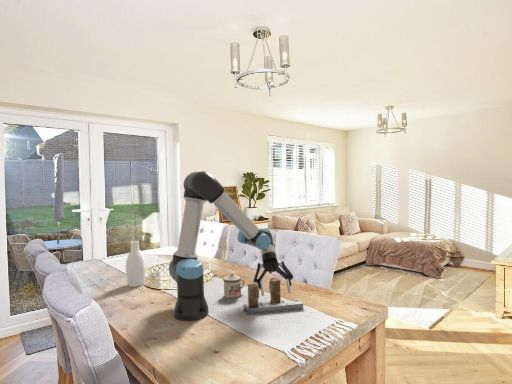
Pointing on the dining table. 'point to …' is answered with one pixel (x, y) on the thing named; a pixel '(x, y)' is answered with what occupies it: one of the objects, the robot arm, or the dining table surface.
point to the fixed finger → (253, 294)
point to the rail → (273, 307)
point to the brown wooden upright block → (275, 290)
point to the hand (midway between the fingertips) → (276, 293)
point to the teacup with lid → (232, 286)
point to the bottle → (135, 266)
